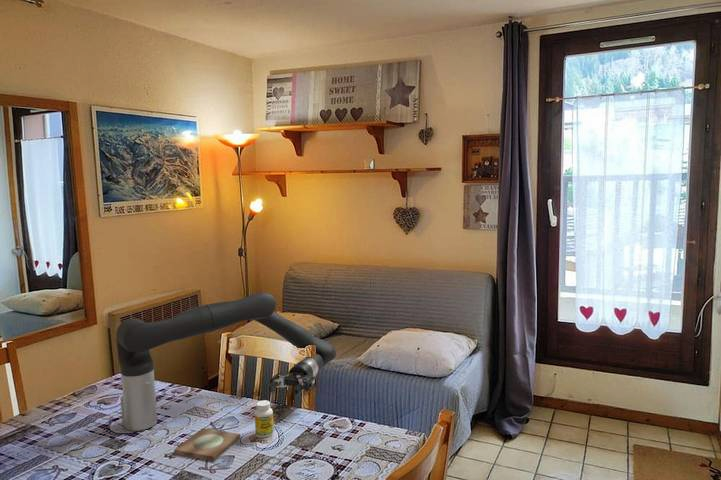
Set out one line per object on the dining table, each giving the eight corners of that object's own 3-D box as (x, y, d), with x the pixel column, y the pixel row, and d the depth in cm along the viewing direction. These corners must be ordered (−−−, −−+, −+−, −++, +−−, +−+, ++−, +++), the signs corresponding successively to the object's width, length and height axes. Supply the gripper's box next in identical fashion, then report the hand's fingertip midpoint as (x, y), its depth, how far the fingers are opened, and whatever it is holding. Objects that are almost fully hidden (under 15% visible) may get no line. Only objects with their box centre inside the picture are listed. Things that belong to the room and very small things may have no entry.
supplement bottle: (269, 427, 161) (268, 397, 159) (276, 434, 156) (275, 403, 155) (252, 432, 158) (251, 402, 156) (259, 440, 153) (258, 408, 152)
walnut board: (174, 453, 147) (174, 449, 146) (202, 431, 159) (202, 427, 159) (214, 461, 142) (214, 456, 142) (240, 438, 154) (240, 434, 154)
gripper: (284, 359, 184) (261, 377, 168) (322, 363, 179) (302, 381, 164) (285, 380, 185) (262, 399, 169) (323, 384, 180) (303, 404, 165)
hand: (282, 390), depth 167 cm, fingers open, 8 cm apart
